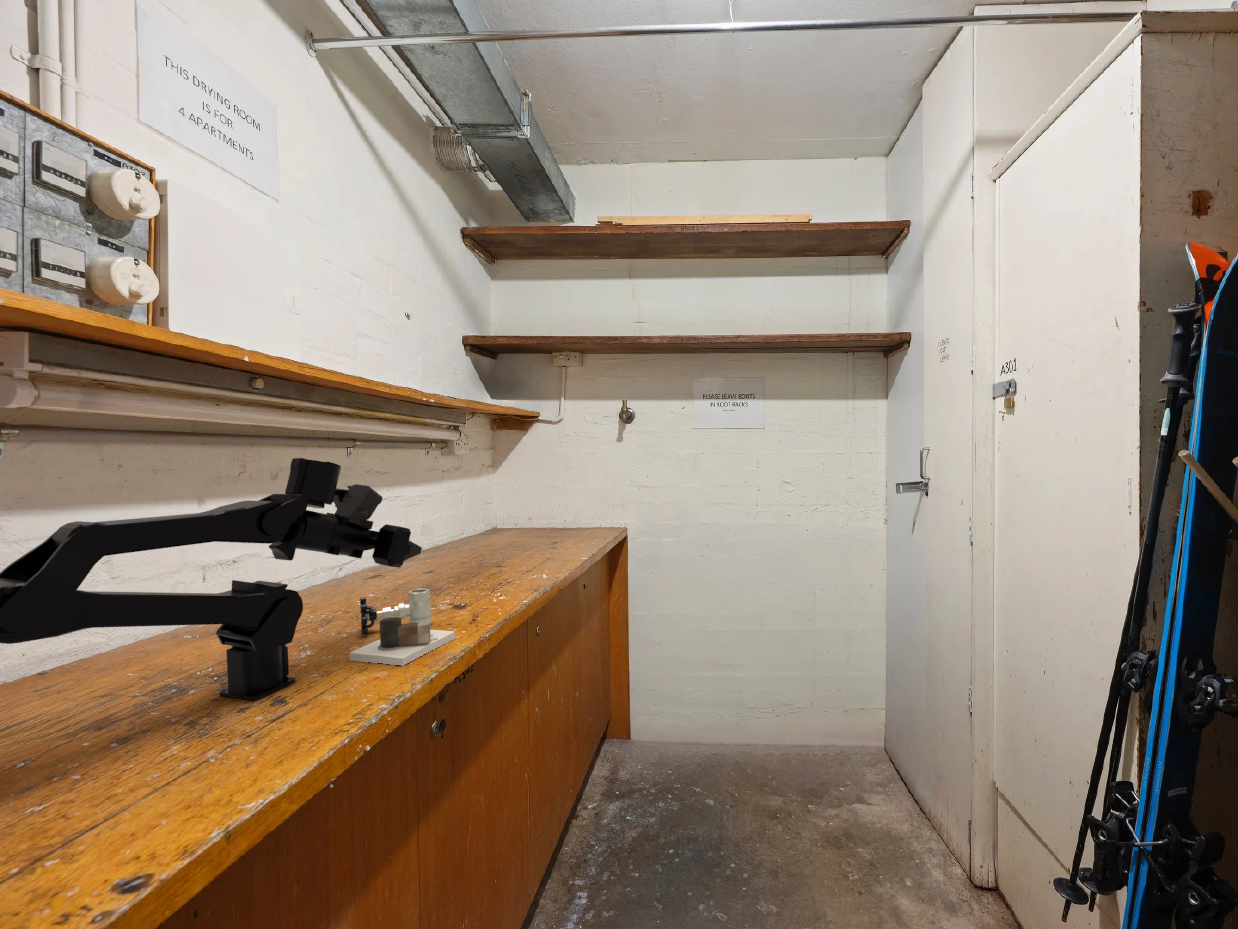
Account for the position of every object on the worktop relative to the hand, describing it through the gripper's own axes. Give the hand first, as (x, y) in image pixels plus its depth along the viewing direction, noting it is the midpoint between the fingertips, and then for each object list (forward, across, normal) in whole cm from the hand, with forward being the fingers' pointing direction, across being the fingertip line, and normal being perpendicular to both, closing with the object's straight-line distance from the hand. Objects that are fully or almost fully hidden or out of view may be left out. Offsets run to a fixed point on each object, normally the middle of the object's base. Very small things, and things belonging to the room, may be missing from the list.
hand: (402, 546), depth 99 cm
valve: (+6, +3, +15) cm, 16 cm away
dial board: (-1, -8, +16) cm, 18 cm away
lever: (-2, -9, +14) cm, 17 cm away
